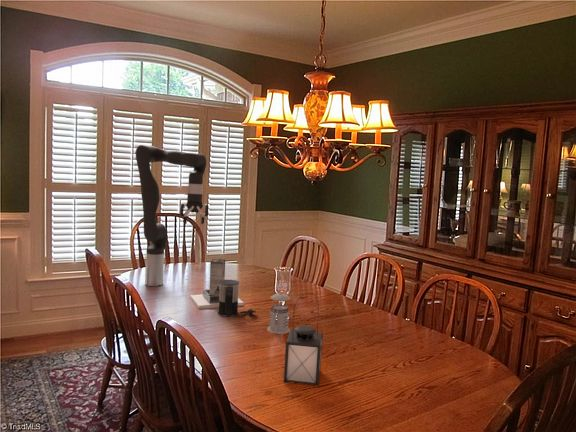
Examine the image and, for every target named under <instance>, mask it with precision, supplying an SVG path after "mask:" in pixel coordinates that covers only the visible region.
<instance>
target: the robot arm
mask: <svg viewBox="0 0 576 432" xmlns="http://www.w3.org/2000/svg"><path fill="white" fill-rule="evenodd" d="M135 160H136V163H137V164H136V165H137V169H138V170H137V171H138V175H139V182H140V194H141V201H142V211H143V235H144V238H145V239H146V240H147V241H148V242H150V244H149V245H148V247H146V252H145V253H146V254H145V255H146V257H145V258H146V260H145V271H144V272H145V273H144V277H145V278H144V284H145V285H147V286H146V287H160V286H159V285H161V286H163V285H164V272H165V271H164V266H165V265H164V264H165V249H166V247H167V236H168V234H167V228H166V226H165V225H164V223H163V224H162V223H159V222H158V223H157V218H156V217H157V216H156V215H157V211H158V207H159V204H160V200H161V197H160V189H159V188H160V187H159V184H158V183H157V181H156V179H155V177H154V175H153V173H152V170H151V163H160V162H162V163H163V162H164V163H168V164H172V165H177V166H184V167H190V168H193V170H192V171H191V172H189V175H188V185H187V186H188V187H187V195H186V196H187V200H186V203H181V204H180V206H179V215H180V216H182V217H183V218H182V221H183V224H184V225H187V221H188V219H187V216H188V215H189V214H190V213H199V214H200V224H201V225H204V223H205V218H206V217H208V216H209V204H207V203H205V204H203V193H204V191H203V190H204V187H203V186H204V185H203V183H204V181H203V180H204V174H205V171H206V167H207V157H206V156H205V155H204V154H203V153H196V152H195V153H193V152H186V151H182V150H181V151H179V150H167V149H162V148H159V147H156V146H154V145H147V144H141V145H137V148H136V150H135ZM185 208H186V210H185V212H184V209H185ZM202 208H203V209H204V212H203V211H202ZM162 284H163V285H162Z"/></svg>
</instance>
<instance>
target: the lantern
mask: <svg viewBox="0 0 576 432" xmlns="http://www.w3.org/2000/svg"><path fill="white" fill-rule="evenodd" d="M307 294H311V295H313V296H314V297H315V298H316V301H317V303H319V301H318V298H317V295H315V294H314V293H312V292H306V293H303V294H301V295H300V296H299V298H298V299H297V300H296V302H295V304H294V307H293V314H292V325H295V324H294V321H295V319H294V318H295V309H296V305H297V303H298V301H299V299H301V297H303V296H304V295H307ZM319 308H320V307H319V304H317V316H319ZM316 325H317V326H316V329H315V328H314V327H312V326H310V325H299V326H296V327H295V328H294V329H290V332H288V337H287V340H286V341H285V351H284V353H285V354H284V367H283V368H284V370H283V371H284V372H283V383H285V382H286V383H288V382H294V383H293V384H297V383H304V384H303V385H306V384H314V385H313V386H315V385H318V386H319V384H320V374H321V368H322V367H321V366H322V365H321V363H322V348H323V336H324V334H323V332H319V331H318V330H319V329H318V328H319V322H317V324H316Z"/></svg>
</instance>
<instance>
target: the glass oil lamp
mask: <svg viewBox="0 0 576 432" xmlns="http://www.w3.org/2000/svg"><path fill="white" fill-rule="evenodd" d="M279 274H280V275H284V274H285V271H284V270H280V272H279ZM280 279H281V281H280V287H282V283H283V282H282V281H283V276H281V277H280ZM270 299H271V300H272V301H275V302H279V304H277V303H274V305H271V309H270V313H269V315H270V316H269V326H268V327H267V328H266V330H267V331H268V332H270V333H272V334H275V335H276V334H278V335H283V334H284V335H285V334H289V332H290V330H291V328H289V321H290V320H289V318H290V316H289V315H290V310H289V308H290V307H289V306H287V305H286V304H285V305H284V304H281V302H286V301H287V302H288V301H290V300H291V297H290V296H289V295H287V294H286V293H282V292H280V293H274V294H273V295H271V296H270Z"/></svg>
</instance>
